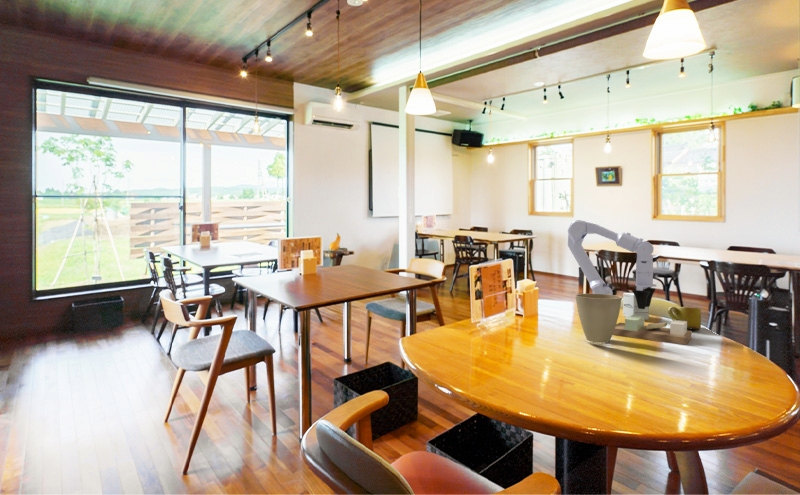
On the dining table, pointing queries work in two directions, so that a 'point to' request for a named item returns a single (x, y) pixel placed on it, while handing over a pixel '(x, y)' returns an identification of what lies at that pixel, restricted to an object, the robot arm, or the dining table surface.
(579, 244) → the robot arm
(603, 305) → the plant pot
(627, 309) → the supplement box
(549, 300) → the dining table surface
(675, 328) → the button white
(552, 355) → the dining table surface
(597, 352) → the dining table surface
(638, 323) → the light green rectangular bar
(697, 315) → the mug
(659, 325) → the tan flat block
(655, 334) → the panel
